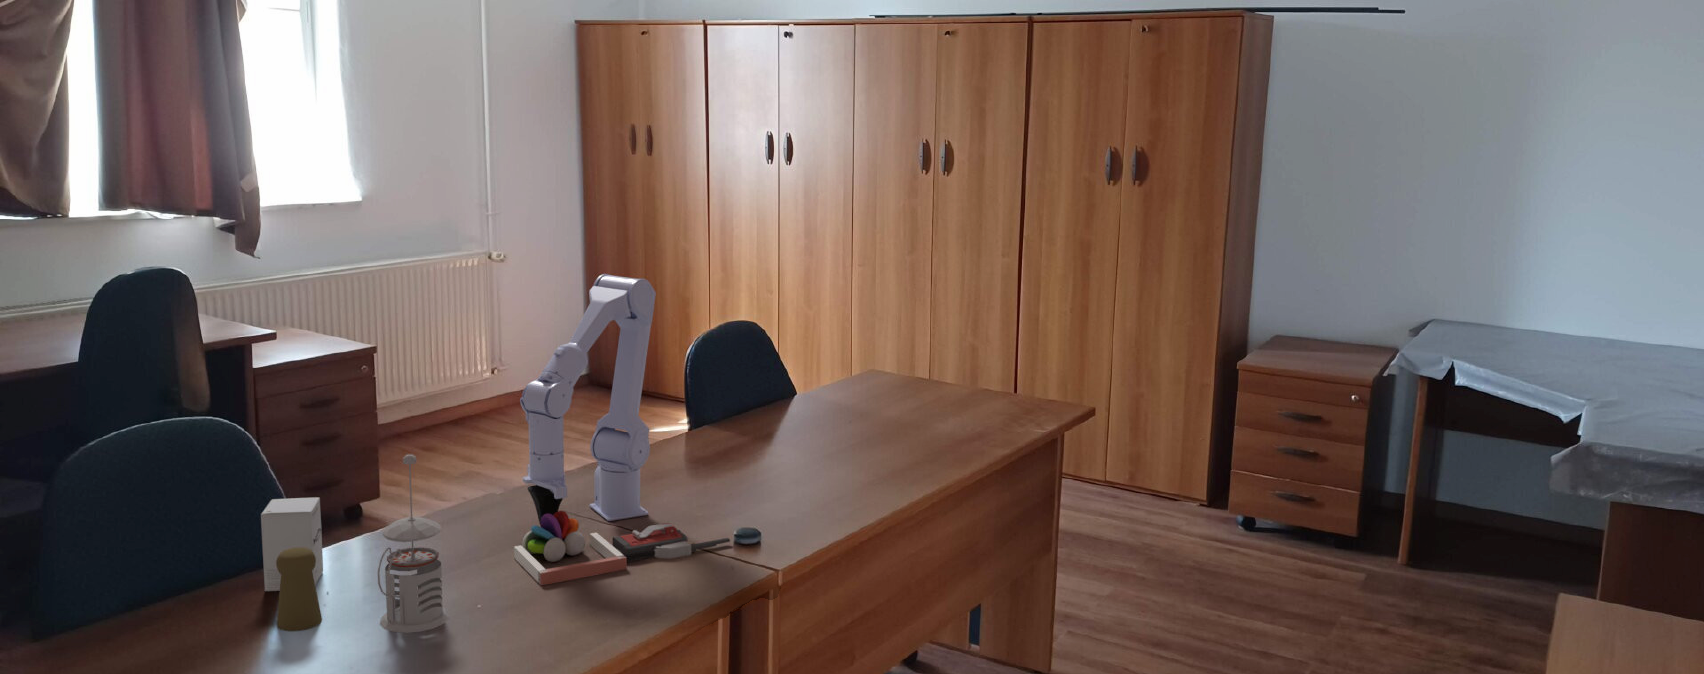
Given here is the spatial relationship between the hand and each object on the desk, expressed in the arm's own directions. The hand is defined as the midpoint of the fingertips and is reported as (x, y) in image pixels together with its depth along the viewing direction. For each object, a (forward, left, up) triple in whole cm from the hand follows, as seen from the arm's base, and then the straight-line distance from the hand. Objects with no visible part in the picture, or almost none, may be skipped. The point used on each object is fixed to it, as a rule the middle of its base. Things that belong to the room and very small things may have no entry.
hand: (547, 526), depth 213 cm
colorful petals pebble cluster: (+6, -1, -3) cm, 6 cm away
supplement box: (-2, -40, -3) cm, 40 cm away
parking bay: (+10, 0, -3) cm, 11 cm away
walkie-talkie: (+12, +17, -4) cm, 21 cm away
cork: (+14, -42, -3) cm, 44 cm away
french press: (+21, -28, -3) cm, 35 cm away
